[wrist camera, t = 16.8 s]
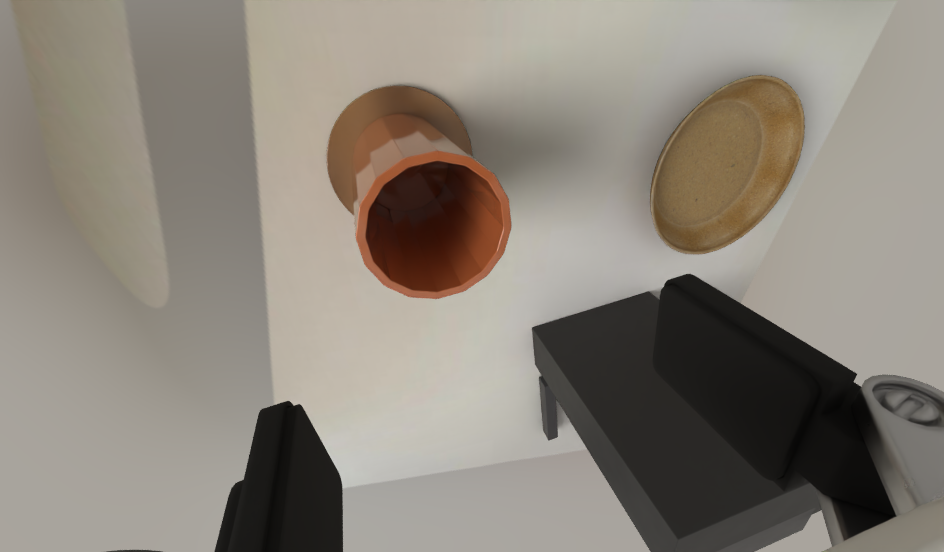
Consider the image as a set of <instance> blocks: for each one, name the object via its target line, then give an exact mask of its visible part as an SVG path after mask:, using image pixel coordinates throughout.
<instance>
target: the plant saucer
mask: <svg viewBox="0 0 944 552" xmlns="http://www.w3.org/2000/svg"><path fill="white" fill-rule="evenodd" d="M804 128H805V125H804V112H803V108H802V104H801V102H800V99H799V97H798V95H797V94H796V92H795V91H794V90H793V89H792V88H791V87H790V86H789V85H788V84H787V83H786V82H784V81H783V80H781V79H779V78H776V77H772V76H765V75H756V76H749V77H746V78H742V79H739V80H736V81H733V82H731V83H729V84H727V85H725V86H724V87H722V88H720V89H719V90H717V91H716V92H714V93H713V94H711V95H710V96H709V97H707V98H706V99H705V100H704V101H702V102H701V103H700V104H699V105H698V106H697V107H695V108H694V109H693V110H692V111H691V112H690V113H689V114H688V115H687V116H686V117H685V118H684V120H683V121H682V122H681V123H680V124H679V125H678V127H677V128H676V129H675V131H674V132H673V134H672V135H671V136H670V138H669V140H668V141H667V143H666V145H665V147H664V148H663V150H662V152H661V155H660V157H659V159H658V162H657V164H656V167H655V171H654V174H653V179H652V184H651V192H650V206H651V214H652V219H653V223H654V226H655V229H656V231H657V233H658V235H659V236H660V238H661V239H662V240H663V242H664V243H665V244H666V245H668V246H669V247H670V248H672V249H674V250H676V251H678V252H681V253H685V254H705V253H709V252H712V251H716V250H719V249H721V248H723V247H726V246H727V245H729V244H731V243H733V242H735V241H736V240H738V239H739V238H741V237H742V236H744V235H745V234H746V233H748V232H749V231H750V230H751V229H753V228H754V227H755V226H756V225H757V224H758V223H759V222H760V221H761V220H762V219H763V218H764V217H765V216H766V215H767V214H768V213H769V212H770V210H771V209H772V208H773V207H774V205H775V204H776V203H777V201H778V200H779V198H780V197H781V195H782V194H783V192H784V191H785V189H786V187H787V186H788V184H789V182H790V180H791V178H792V175H793V173H794V171H795V168H796V166H797V163H798V161H799V158H800V153H801V150H802V146H803V140H804Z"/></svg>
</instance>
